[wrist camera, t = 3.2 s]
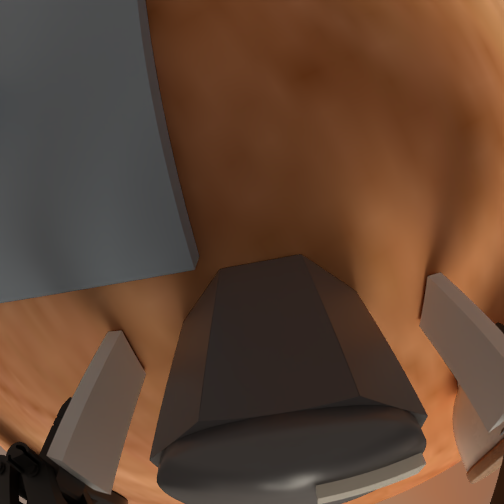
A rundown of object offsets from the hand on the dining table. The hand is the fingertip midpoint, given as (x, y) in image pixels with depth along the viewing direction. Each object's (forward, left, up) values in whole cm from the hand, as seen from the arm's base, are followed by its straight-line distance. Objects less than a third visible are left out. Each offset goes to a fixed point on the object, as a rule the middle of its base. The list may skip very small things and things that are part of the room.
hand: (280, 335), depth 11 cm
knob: (0, 0, 0) cm, 0 cm away
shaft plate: (-10, +12, 0) cm, 16 cm away
